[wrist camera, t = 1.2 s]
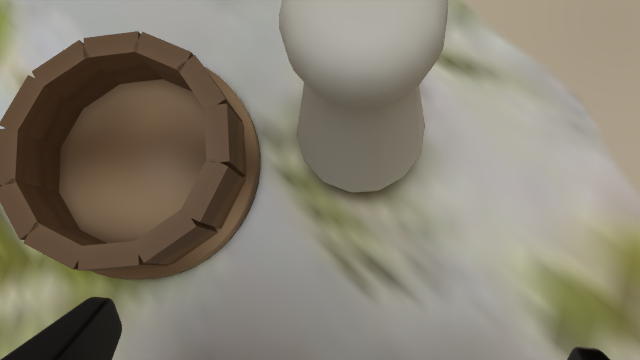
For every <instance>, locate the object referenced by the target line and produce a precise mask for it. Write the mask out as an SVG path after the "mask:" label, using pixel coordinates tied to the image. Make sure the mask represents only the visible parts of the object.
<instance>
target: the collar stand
mask: <svg viewBox="0 0 640 360" xmlns="http://www.w3.org/2000/svg"><path fill="white" fill-rule="evenodd" d="M32 73H33V75H34V76H35V78H36V79H35V78H33V77H31V76H29V75H28V76H27V78H26V80H25V81H24V83H23V85H22V86H21V88H20V90H19V91H18V93H17V95H16V96H15V98H14V100H13V101H12V103H11V105H10V106H9V108H8V110H7V111H6V113H5V115H4V116H3V118H2V120H1V121H0V126H2V127H4V128H6V129H0V203H1V205H2V206H3V208H4V210H5V212H6V214H7V216H8V218H9V220H10V222H11V224H12V226H13V227H14V229H15V231H16V233H17V235H18V237H19V239H20V240H25V241H24V244H26V245H28V246H30V247H32V248H34V249H36V250H37V251H39V252H41V253H43V254H45V255H47V256H49V257H51V258H52V259H54V260H56V261H58V262H60V263H62V264H64V265H66V266H68V267H69V268H71V269H78V270H90V271H93V272H95V273H97V274H101V275H105V276H108V277H112V278H120V279H154V278H161V277H167V276H171V275H174V274H178V273H181V272H184V271H186V270H188V269H190V268H193V267H195V266H197V265H198V264H200V263H202V262H203V261H205V260H207V259H208V258H210V257H211V256H212V255H213V254H215V253H216V252H217V251H218V250H220V249H221V248H222V247H223V246H224V245H225V244H226V243H227V242H228V241H229V240H230V239H231V238H232V236H233V235H234V234H235V232H236V231H237V230H238V228H239V227H240V226H241V224H242V223H243V221H244V219H245V217H246V216H247V214H248V212H249V210H250V207H251V205H252V203H253V200H254V198H255V194H256V190H257V187H258V182H259V175H260V148H259V141H258V137H257V134H256V130H255V127H254V125H253V122H252V120H251V118H250V115H249V114H248V112H247V110H246V109H245V107H244V105H243V104H242V102H241V101H240V100H239V98H238V97H237V95H236V94H235V93H234V92H233V90H232V89H231V88H230V87H229V85H227V84H226V83H225V82H224V81H223V80H222V79H221V78H220V77H219V76H218V75H216V74H215V73H213V72H212V71H210V70H209V69H207V68H205V67H204V66H203V65H202V64H201V62H200V61H199V60H198V58H197V57H196V56H195V55H193V54H192V52H190V51H187V50H185V49H182V48H180V47H178V46H175V45H173V44H170V43H168V42H166V41H163V40H161V39H158V38H156V37H154V36H151V35H149V34H146V33H144V32H142V34H140V33H139V32H138V31H137V32H129V33H121V34H113V35H105V36H97V37H89V38H84V44H83V43H82V42H81V41H80V40H78V41H77V42H75V43H74V44H72V45H71V46H69V47H68V48H66V49H65V50H63V51H62V52H60V53H59V54H57V55H56V56H54V57H53V58H51V59H50V60H48V61H47V62H45V63H44V64H42V65H41V66H39V67H38V68H36V69H35V70H33V71H32Z"/></svg>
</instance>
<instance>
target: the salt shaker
mask: <svg viewBox="0 0 640 360" xmlns="http://www.w3.org/2000/svg"><path fill="white" fill-rule="evenodd" d="M447 14H448V0H282V5H281V9H280V14H279V29H280V32H281V35H282V39H283V42H284V45H285V49H286V52H287V55H288V59H289V62H290V64H291V66H292V68H293V70H294V71H295V72H296V73H297V75H298V76H299V77H300V78H301V79H302V80H303V81H304V88H303V95H302V102H301V109H300V115H299V122H298V129H297V137H298V141H299V144H300V147H301V150H302V154H303V157H304V160H305V162H306V163H307V164H308V165H309V166H310V168H311V169H312V170H313V171H314V172H315V173H316V174H317V176H318V177H319V178H320V179H321V180H322V181H323V182H325V183H328V184H330V185H333V186H335V187H338V188H340V189H343V190H346V191H348V192H369V191H379V190H381V189H383V188H385V187H386V186H388V185H390V184H392V183H394V182H395V181H397V180H399V179H401V178H403V177H404V176H405V175H406V174H407V172H408V171H409V169H410V168H411V166H412V165H413V164H414V162H415V161H416V159H417V158H418V157H419V155H420V154H421V149H422V142H423V135H424V128H425V124H424V117H423V111H422V104H421V97H420V91H419V84H420V83H421V82H422V80H423V79H424V78H425V76H426V75H427V73H428V72H429V71H430V69H431V68H432V67H433V65H434V64H435V63H436V61H437V60H438V58H439V56H440V54H441V52H442V50H443V46H444V38H445V30H446V22H447Z"/></svg>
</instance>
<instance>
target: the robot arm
mask: <svg viewBox="0 0 640 360" xmlns="http://www.w3.org/2000/svg"><path fill="white" fill-rule="evenodd" d="M121 332H122V324H121V321H120V318H119V315H118V312H117V310H116V307H115V304H114V302H113V301H112V300H111V299H109V298H102V297H91V298H89V299H87V300H85V301H84V302H82V303H81V304H80V305H78V306H77V307H75V308H74V309H72V310H71V311H70V312H68V313H67V314H65V315H64V316H62V317H61V318H60V319H58V320H57V321H55V322H54V323H52V324H51V325H50V326H48V327H47V328H45V329H44V330H42V331H41V332H40V333H38V334H37V335H35V336H34V337H32V338H31V339H30V340H28V341H27V342H25V343H24V344H22V345H21V346H19V347H18V348H17V349H15V350H14V351H12V352H11V353H9V354H8V355H7V356H5V357H4V358H2V359H1V360H112V358H113V355H114V352H115V350H116V347H117V344H118V342H119V339H120V336H121ZM567 360H610V359H609V358H608V357H607V356H606V355H605V354H604V353H603V352H602V351H600V350H598V349H595V348H586V347H575V348H574V349H573V350H572V351H571V353H570V355H569V357H568V359H567Z"/></svg>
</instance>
